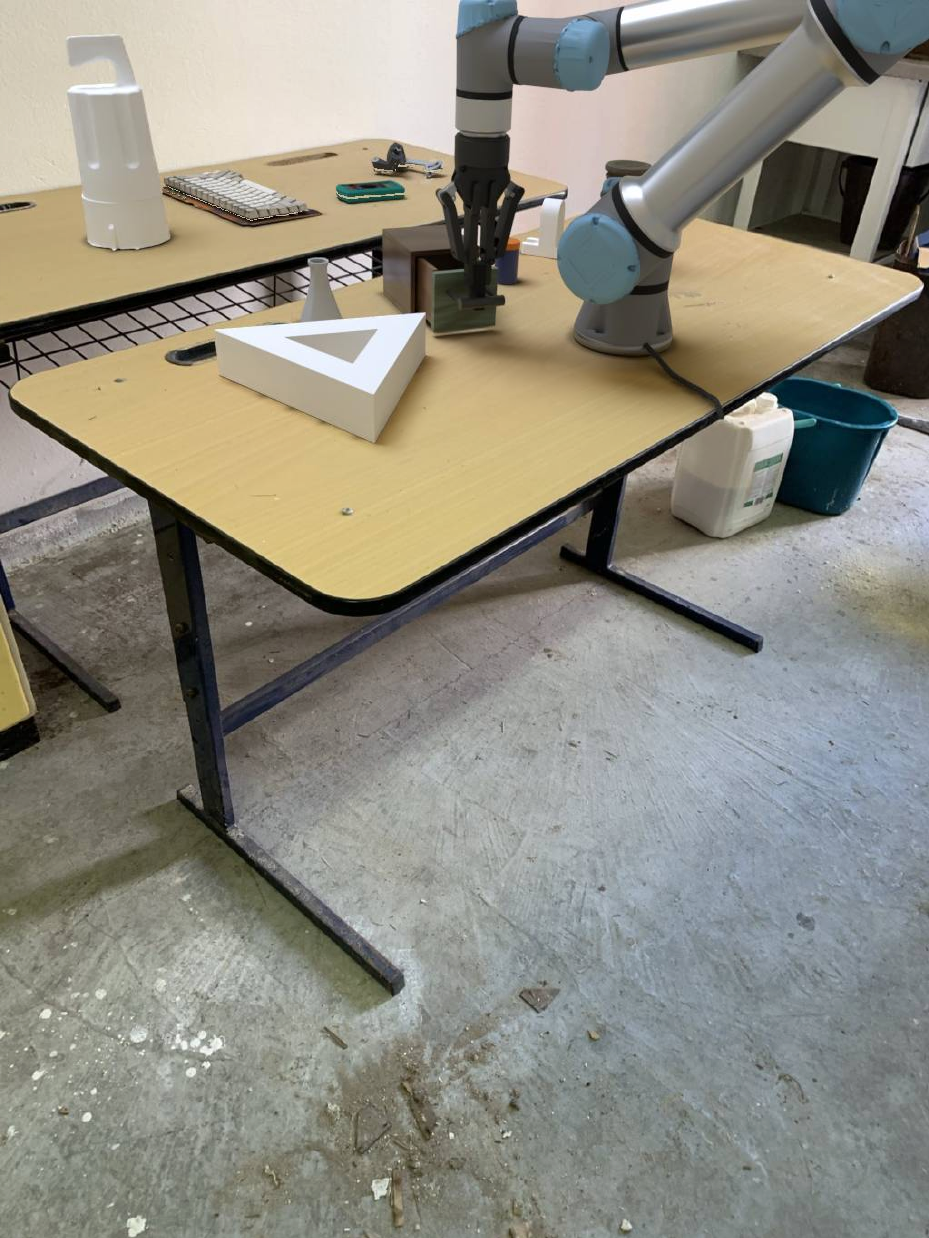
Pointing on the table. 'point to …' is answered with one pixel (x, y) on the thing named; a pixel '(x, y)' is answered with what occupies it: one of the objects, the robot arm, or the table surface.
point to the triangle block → (329, 366)
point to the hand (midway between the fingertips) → (476, 307)
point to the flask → (319, 294)
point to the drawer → (452, 295)
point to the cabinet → (409, 259)
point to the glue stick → (509, 263)
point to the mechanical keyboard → (235, 197)
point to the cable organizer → (547, 230)
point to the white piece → (115, 151)
